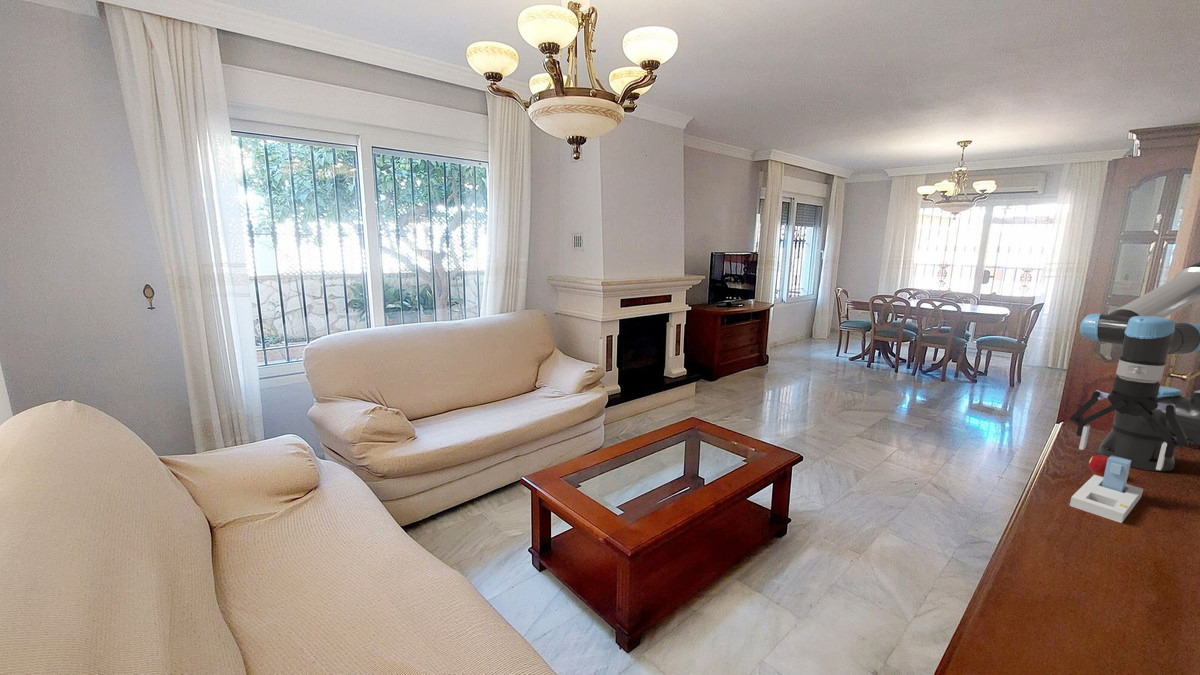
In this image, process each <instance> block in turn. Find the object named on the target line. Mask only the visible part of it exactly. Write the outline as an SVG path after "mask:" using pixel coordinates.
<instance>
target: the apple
mask: <svg viewBox="0 0 1200 675" xmlns="http://www.w3.org/2000/svg"><path fill="white" fill-rule="evenodd" d="M1108 458H1109V457H1107V456H1104V455H1100V454H1098V455H1093V456H1090V459H1089V461H1088V469H1089V471H1090V472H1091V474H1093V475H1097V476H1101V477H1104V473H1105V469H1106V464H1107V459H1108Z"/></svg>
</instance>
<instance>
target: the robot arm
mask: <svg viewBox="0 0 1200 675" xmlns="http://www.w3.org/2000/svg"><path fill="white" fill-rule="evenodd" d="M1199 300H1200V261H1199V262H1198V261H1197V262H1196V263H1193V264H1191V265H1189V266H1187V267H1184V268H1183V269H1181V270H1179V271H1178V272H1177V273H1176V274H1175V275H1174V277H1173V279H1171V280H1169V281H1167V282H1166V283H1163V284H1162V285H1160V286H1157V287H1155V288H1154V289H1153V290H1152V289H1151V290H1150V291H1148V292H1147V293H1145V294H1143V295H1141V296H1140V297H1137V298H1136V299H1133V300H1132V301H1130V302H1128V303H1126V304H1125V305H1122V306H1121V307H1119V308H1117V309H1115V310H1114V311H1112V312H1109V313H1108V314H1104V313H1089V314H1088V315H1086V316H1085V317H1084V318H1083V319H1082V320H1081V322H1080V325H1079V332H1080V335H1081V336H1082V337H1083V338H1085V339H1087V340H1091V341H1095V342H1098V343H1106V344H1113V345H1119V346H1121V352H1120V356H1119V358H1118V359H1119V360H1118V363H1117V367H1116V371H1115V374H1116V375H1117V376H1116V377H1114V380H1113V385H1112V389H1111V392H1110V393H1108V392H1103V391H1102V390H1100V389H1096V390H1095V391H1093V392H1092V395H1091V397H1090V399H1089V400H1088V401H1087V402H1085V403H1084V404H1083V405H1081V407H1080V408H1078V410H1076V412H1074V413H1073V414H1072V415H1071V416H1070V417H1069V420H1070V421H1072V422H1074V423H1077V428H1076V436H1077V437H1080V442H1079V446H1078V450H1081V451H1083V450H1085V449H1086V447H1087V444H1088V440H1089V439H1088V438H1089V434H1090V429H1091V424H1089V423H1091V422H1093V421H1095V420H1097V419H1099V418H1101V417H1103V416H1105V415H1107V414H1109V413H1112V412H1113V411H1114V412H1115V413H1114V416H1113V417H1114V418H1113V422H1112V426H1111V430H1110V431H1109V433H1108V434H1107V435H1106V437H1105V438H1104V439H1103V440H1102V442H1101V443H1100V444H1099V447H1098V453H1099V454H1098V455H1104V456H1107V457H1110V456H1111V455H1113V456H1117V457H1121V458H1125V459H1128V460H1132V461H1131V465H1130V468H1131V467H1132V468H1134V469H1140V470H1146V471H1152V472H1153V471H1154V472H1170V471H1172V470H1174V467H1175V463H1176V461H1175V458H1174V454H1175V451H1176V450H1175V449H1176V447H1187V446H1188V445H1189V444H1190V443H1192V444H1196V445H1199V446H1200V389H1199V390H1196V391H1194V392H1193V394H1192V396H1191V398H1190V397H1185V396H1183V392H1182V390H1181V389H1180V388H1179V389H1178V388H1176V387H1175V388H1174V387H1170V386H1162V385H1161V383H1160V381H1162V380H1163V375H1164V372H1165V367H1166V363H1167V362H1166V361H1167V359H1168V355H1179V354H1181V355H1185V354H1190V353H1194V352H1198V351H1200V324H1197V323H1194V322H1190V323H1189V322H1175V320H1174V319H1172V318H1169V316H1171V315H1173V314H1174V313H1176V312H1178V311H1180V310H1182V309H1184V308H1185V307H1188V306H1189V305H1191V304H1193V303H1195V302H1196V301H1199ZM1104 399H1107V400H1108V401H1109V403H1110V405H1108V406H1107V407H1104V408H1103V409H1100V410H1098V411H1096V412H1094V413H1092V414H1090V415H1087V416H1086V417H1084V418H1082V417H1081V416H1083V415H1084V414H1086V412H1087V411H1088V410H1090V408H1092V407H1093V406H1094V405H1095V404H1096V403H1098V401H1103V400H1104Z"/></svg>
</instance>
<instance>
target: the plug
mask: <svg viewBox="0 0 1200 675" xmlns="http://www.w3.org/2000/svg"><path fill="white" fill-rule="evenodd" d="M1131 461H1132V460H1128V459H1125V458H1121V457H1117V456H1113V455H1111V456H1110V457H1109V458H1108V459H1107V464H1106V469H1105V473H1104V478H1103V482H1102V487H1106V488H1109V489H1112V490H1116V491H1119V492H1122V493H1124V491H1125V486H1126V484H1127V482H1128V481H1127V480H1128V477H1129V473H1130V469H1131V467H1130V465H1131Z"/></svg>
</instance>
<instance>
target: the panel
mask: <svg viewBox="0 0 1200 675" xmlns="http://www.w3.org/2000/svg"><path fill="white" fill-rule="evenodd" d="M1103 478H1104V477H1101V476H1097V475H1095V474H1093V475H1092V476H1091V477H1090V479H1088V480H1087V481H1086V482H1085V483H1084V484H1083V485H1082V486H1081V487H1080V488H1079V489H1077V491H1076V492H1075V493H1074V494H1073V495H1071V497H1070V502H1069V507H1072V508H1076V509H1078V510H1081V511H1084V512H1087V513H1090V514H1093V515H1096V516H1100V517H1102V518H1106V519H1108V520H1112V521H1114V522H1116V523H1117V522H1118V523H1121V524H1122V523H1123V522H1124V521H1125V519H1127V517H1128V515H1129V514H1130V513H1131V512H1132V511H1133V509H1134V507H1135V506H1136V505H1137V503H1139V501H1140V499H1141V498H1142V496H1143V495H1142V494H1143V491H1144V487H1143V488H1142V487H1139V486H1136V485H1132V484H1128V483H1126V486H1125V491H1124V493H1122V492H1119V491H1116V490H1112V489H1109V488H1106V487H1102V482H1103Z"/></svg>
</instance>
